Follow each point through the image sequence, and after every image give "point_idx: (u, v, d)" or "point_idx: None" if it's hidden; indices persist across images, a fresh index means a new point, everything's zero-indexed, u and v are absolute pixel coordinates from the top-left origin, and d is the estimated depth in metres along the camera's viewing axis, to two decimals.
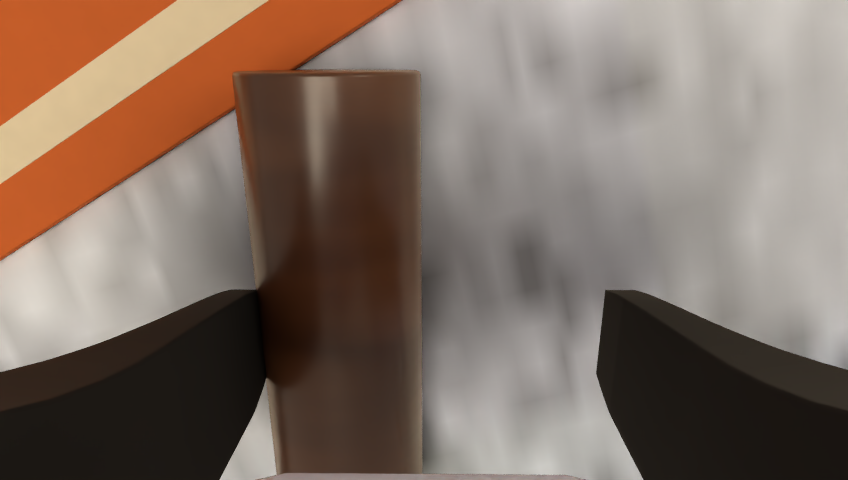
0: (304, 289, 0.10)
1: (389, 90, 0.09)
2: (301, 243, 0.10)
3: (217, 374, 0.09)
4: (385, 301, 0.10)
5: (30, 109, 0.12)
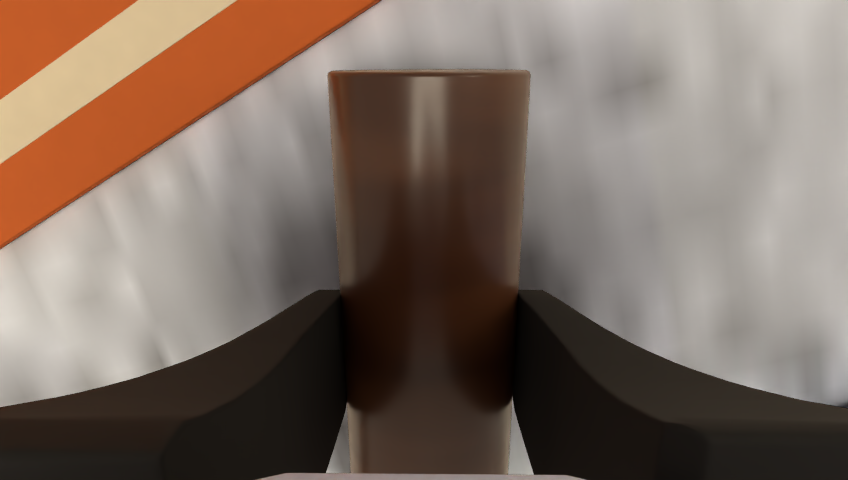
0: (456, 308, 0.09)
1: (528, 89, 0.09)
2: (457, 259, 0.09)
3: (323, 374, 0.09)
4: (514, 305, 0.10)
5: None
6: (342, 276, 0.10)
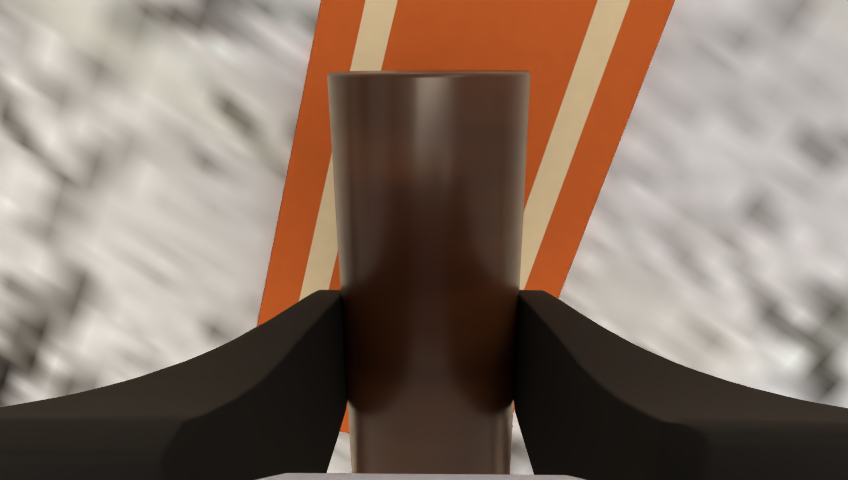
0: (457, 309, 0.09)
1: (528, 89, 0.09)
2: (458, 259, 0.09)
3: (324, 374, 0.09)
4: (515, 306, 0.10)
5: None
6: (343, 277, 0.10)
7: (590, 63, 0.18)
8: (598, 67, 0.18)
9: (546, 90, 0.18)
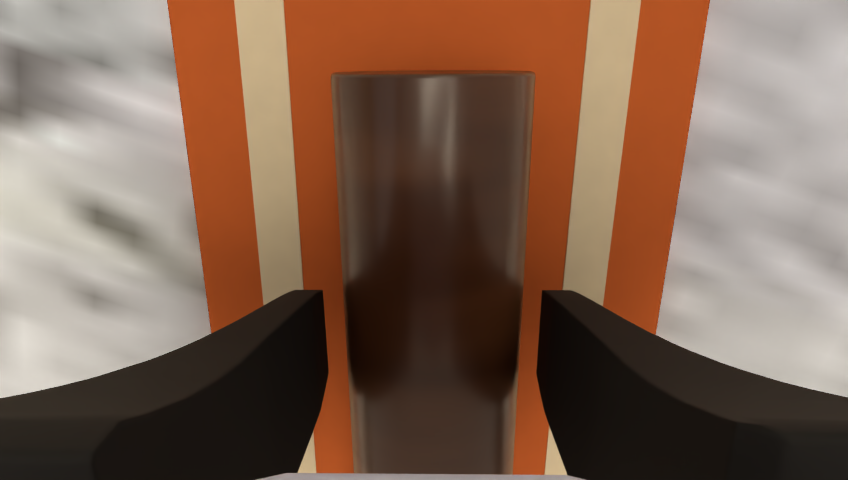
0: (465, 311, 0.09)
1: (534, 90, 0.09)
2: (466, 262, 0.09)
3: (294, 374, 0.09)
4: (520, 307, 0.10)
5: None
6: (346, 280, 0.10)
7: (614, 1, 0.11)
8: (628, 4, 0.11)
9: (553, 65, 0.11)
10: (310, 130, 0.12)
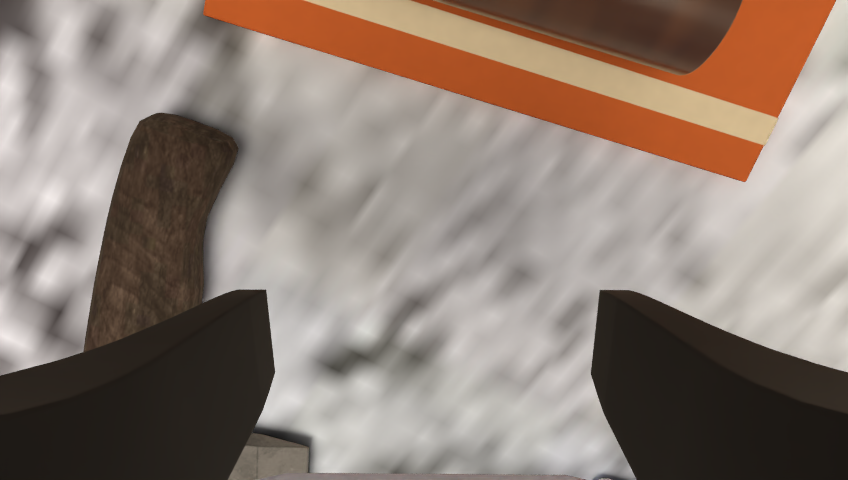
0: (576, 27, 0.15)
1: None
2: (605, 37, 0.15)
3: (226, 374, 0.09)
4: None
5: (451, 15, 0.18)
6: None
7: (685, 103, 0.19)
8: (680, 111, 0.19)
9: None
10: None
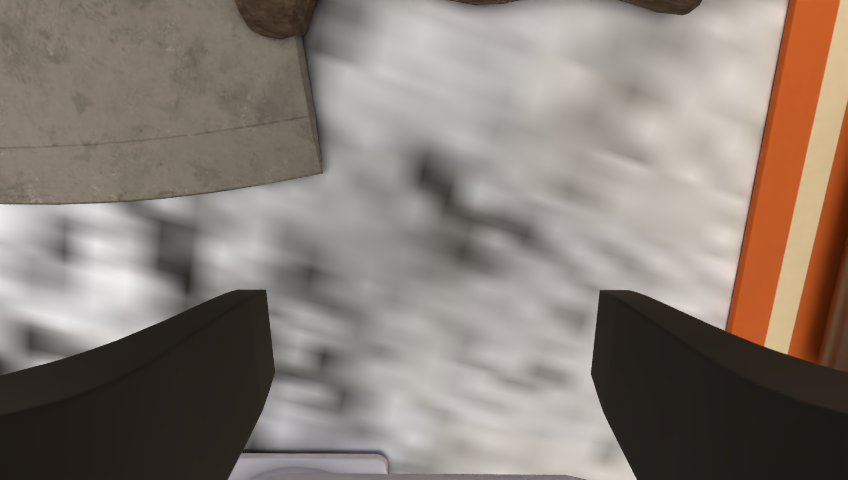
0: None
1: None
2: None
3: (226, 373, 0.09)
4: (842, 284, 0.19)
5: (823, 190, 0.19)
6: None
7: None
8: None
9: None
10: None
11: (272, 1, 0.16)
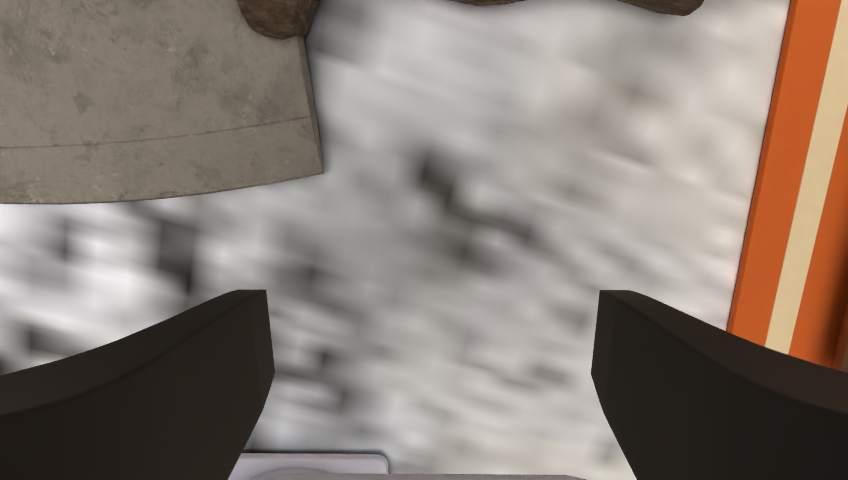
0: None
1: None
2: None
3: (226, 374, 0.09)
4: None
5: (824, 191, 0.19)
6: None
7: None
8: None
9: None
10: None
11: (274, 1, 0.16)
